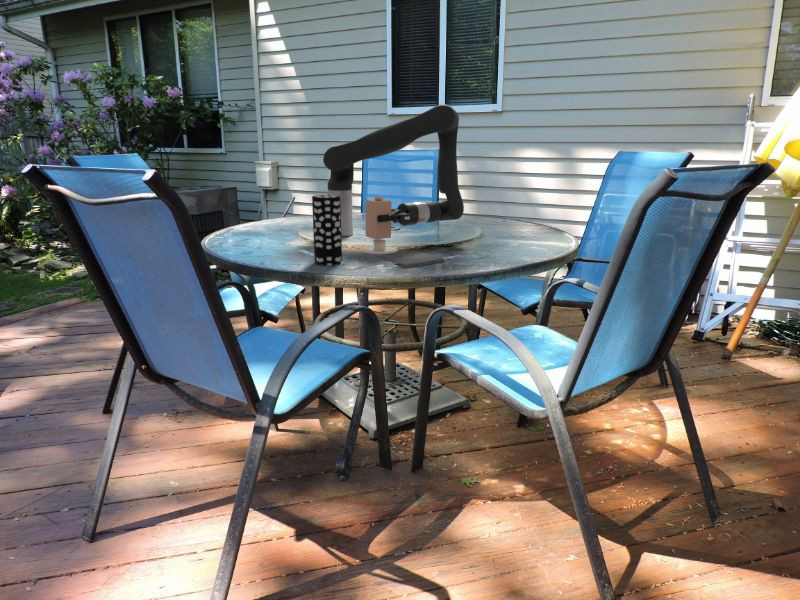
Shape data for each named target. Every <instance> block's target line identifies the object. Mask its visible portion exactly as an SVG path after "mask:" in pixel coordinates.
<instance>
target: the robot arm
mask: <svg viewBox="0 0 800 600" xmlns="http://www.w3.org/2000/svg"><path fill="white" fill-rule="evenodd" d="M459 122H460V117H459V114H458V112H457V111H456V110H455V109H454V108H453V107H452V106H451V105H450V104H449V105H448V104H444V103H443V104H438V105H436V106H434V107H432V108H430V109H427V110H426V111H424V112H422V113H420V114H418V115H415V116H413V117H410V118H407V119H403V120H401V121H398V122H395V123H391V124H389V125H386V126H384V127H382V128H378V129H377V130H375V131H372V132H369V133H368V134H365V135H364V136H361V137H360V138H358V139H356V140H353V141H350V142H347V143H344V144H343V143H342V144H339V145H335V146H331V147H329V148H328V149H326V150H325V152H324V154H323V159H322V160H323V161H322V162H323V165H324V167H326V169H328V170H329V171H330V177H329V180H328V181H327V195H338V196H340V201H341V237H348V236H353V235H354V223H353V220H354V219H353V183H354V173H355V172H354V168H355V167H354V164H357V163H358V162H361V161H363V160H369V159H375V158H379V157H382V156H386V155H389V154H392V153H396V152H398V151H400V150H402V149H404V148H406V147H408V146H409V145H411V144H412V143H414V142H415V141H416V140H418V139H420V138H422V137H424V136H425V137H426V136H428V135H432V134H436V133H437V137H438V138H437V139H438V145H439V148H438V149H439V155H438V162H437V163H438V164H437V183H438V191H439V193H440V194H442V195H443V194H444V195H445V198H446V200H442V201H427V202H425V201H424V202H422V201H421V202H419V201H416V202H415V201H414V202H404V203H400V204H399V205H398V206H397V208H391V214H388V215H378V216H377V221H378V222H391V223H394V224H397V223H399V224H400V225H401V226H405V227H407V226H415V225H422V224H425V223H435V222H444V221H446V222H447V221H456V220H459V219H460V218H462V217H463V214H464V211H465V206H464V205H465V204H464V200H463V197H462V195H461V191H460V188H459V176H458V174H459V173H458V171H459V170H458V160H457V159H458V157H457V148H458V147H457V142H458V140H457V139H458V133H459V132H458V131H459Z"/></svg>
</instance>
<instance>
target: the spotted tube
mask: <svg viewBox="0 0 800 600" xmlns="http://www.w3.org/2000/svg"><path fill="white" fill-rule="evenodd" d="M311 202H312V204H311V205H312V207H311V208H312V225H313V226H312V228H313V229H312V230H313V251H314V252H313V253H314V256H313V257H314V264H315V265H318V266H325V267H327V266H337V265H340V264H342V261H343V249H342V248H343V247H342V243H343V242H342V236H341V201H340V196H338V195H328V194H316V195H312V196H311Z"/></svg>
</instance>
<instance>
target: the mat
mask: <svg viewBox="0 0 800 600" xmlns="http://www.w3.org/2000/svg"><path fill="white" fill-rule="evenodd" d="M376 257H377V258H380V259H383V260H386V261H390V262H393V263H394V265H395V266H398V267H401V268H404V269H408V268H413V267H420V266H426V265H432V264H439V263H445V258H443V257H440V256H436V255H432V254H429V253H426V252H423V251H418V250H410V251H402V252H394V253H387V254H379V255H377V256H376Z"/></svg>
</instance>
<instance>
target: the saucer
mask: <svg viewBox="0 0 800 600" xmlns="http://www.w3.org/2000/svg"><path fill="white" fill-rule="evenodd" d="M372 243H373V246H368V247H364V248H362V249H361V252H362V253H364V254H365V253H366V254H373V255H377V254H378V255H387V254H394V253H397V252H398V251H399V249H398V248H396V247H391V246H386V244H387V243H386V239H373V242H372Z"/></svg>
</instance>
